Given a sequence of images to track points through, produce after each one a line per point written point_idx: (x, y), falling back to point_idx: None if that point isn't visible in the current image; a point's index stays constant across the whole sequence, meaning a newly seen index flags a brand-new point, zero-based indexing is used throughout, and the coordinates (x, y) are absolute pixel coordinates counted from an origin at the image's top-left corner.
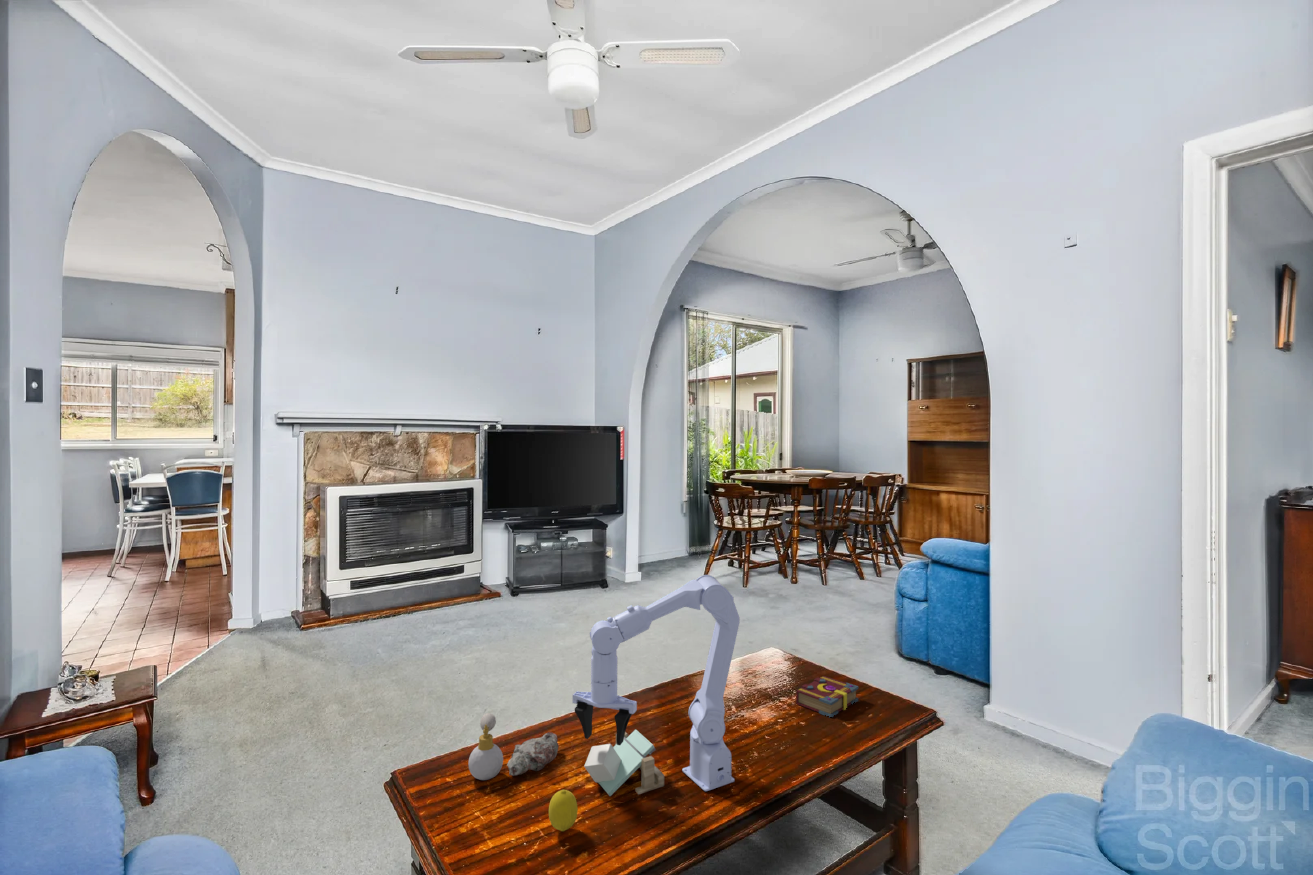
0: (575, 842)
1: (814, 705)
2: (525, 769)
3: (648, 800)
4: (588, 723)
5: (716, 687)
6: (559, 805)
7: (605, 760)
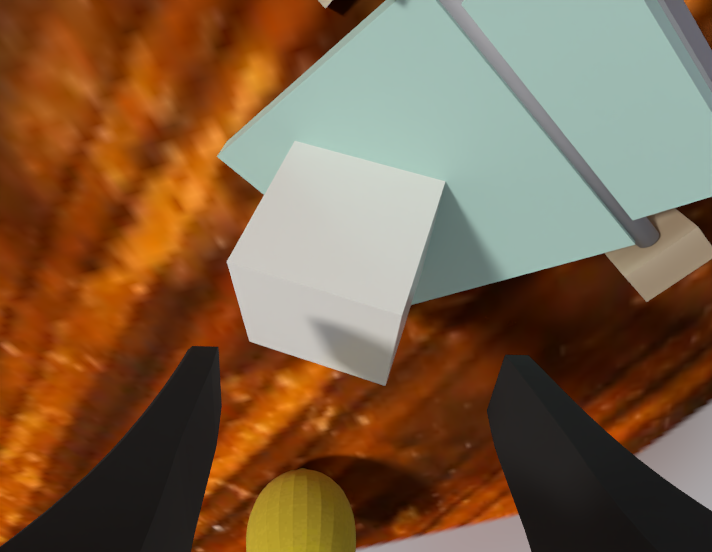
0: (364, 492)
1: None
2: None
3: (587, 257)
4: (189, 489)
5: None
6: None
7: (390, 366)
